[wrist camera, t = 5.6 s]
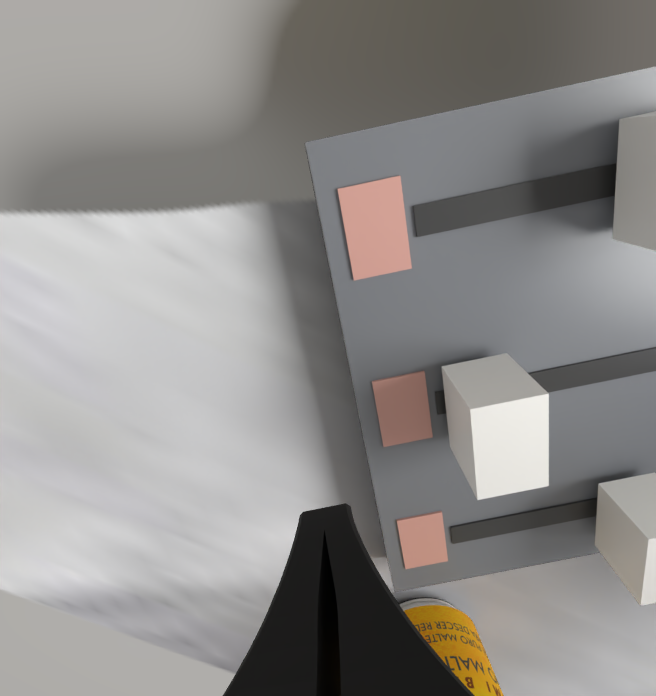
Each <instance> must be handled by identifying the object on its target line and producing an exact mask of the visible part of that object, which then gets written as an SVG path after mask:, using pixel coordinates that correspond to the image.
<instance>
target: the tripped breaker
mask: <svg viewBox="0 0 656 696" xmlns="http://www.w3.org/2000/svg"><path fill="white" fill-rule="evenodd" d="M441 367H442V376H443V386H444V395H445V404H446V414H447V423H448V433H449V442H450V448H451V450H452V452H453V453H454V455H455V457H456V459H457V461H458V463H459V465H460V467H461V469H462V471H463V473H464V475H465V477H466V479H467V481H468V483H469V484H470V486H471V488H472V490H473V492H474V494H475V496H476V498H477V500H481V499H486V498H491V497H496V496H501V495H506V494H511V493H516V492H521V491H526V490H532V489H537V488H542V487H547V486H549V393H548V392H547V391H546V390H545V389H543V388H542V387H541V386H540V385H539V384H538V383H537V382H536V381H535V380H534V379H533V378H532V377H531V376H530V375H529V374H528V373H527V372H526V371H525V370H524V369H523V368H522V367H521V366H520V365H519V364H518V363H517V362H516V361H514V360H513V359H512V358H511V357H510V356H509V355H508V354H507V353H505V354H500V355H495V356H490V357H485V358H480V359H475V360H471V361H466V362H461V363H456V364H451V365H446V366H441Z"/></svg>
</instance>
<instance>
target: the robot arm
mask: <svg viewBox="0 0 656 696" xmlns="http://www.w3.org/2000/svg"><path fill="white" fill-rule="evenodd" d="M223 696H475V695H474V694H473V693H472V692H471V691H470V690H469V689H468V688H467V687H466V686H465V685H464V684H463V683H462V682H461V680H460V679H459V678H458V677H457V676H456V675H455V674H454V673H453V672H452V671H451V670H450V668H449V667H448V666H447V665H446V664H445V662H444V661H443V660H442V659H441V658H440V657H439V655H438V654H437V653H436V652H435V651H434V649H433V648H432V647H431V646H430V645H429V644H428V642H427V641H426V640H425V639H424V637H423V636H422V635H421V634H420V632H419V631H418V630H417V628H416V627H415V626H414V624H413V623H412V622H411V620H410V619H409V618H408V616H407V615H406V614H405V612H404V611H403V609H402V608H401V607H400V605H399V604H398V602H397V601H396V599H395V598H394V596H393V595H392V593H391V592H390V590H389V588H388V587H387V585H386V584H385V582H384V580H383V579H382V577H381V576H380V574H379V572H378V570H377V569H376V567H375V565H374V563H373V561H372V560H371V558H370V556H369V554H368V552H367V550H366V548H365V546H364V544H363V542H362V540H361V538H360V535H359V533H358V531H357V528H356V526H355V523H354V520H353V516H352V511H351V507H350V506H349V505H347V504H341V505H336V506H331V507H326V508H321V509H316V510H311V511H306V512H303V513H302V514H301V515H300V518H299V523H298V527H297V531H296V535H295V538H294V542H293V545H292V549H291V552H290V555H289V558H288V561H287V564H286V566H285V569H284V572H283V575H282V578H281V581H280V583H279V586H278V588H277V591H276V593H275V595H274V598H273V600H272V603H271V605H270V607H269V610H268V612H267V614H266V617H265V619H264V621H263V623H262V625H261V627H260V629H259V632H258V634H257V636H256V638H255V639H254V641H253V643H252V645H251V647H250V649H249V651H248V653H247V655H246V657H245V658H244V660H243V662H242V664H241V666H240V667H239V669H238V671H237V673H236V675H235V676H234V678H233V680H232V681H231V683H230V685H229V686H228V688H227V690H226V692H225V693H224V695H223Z"/></svg>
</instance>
